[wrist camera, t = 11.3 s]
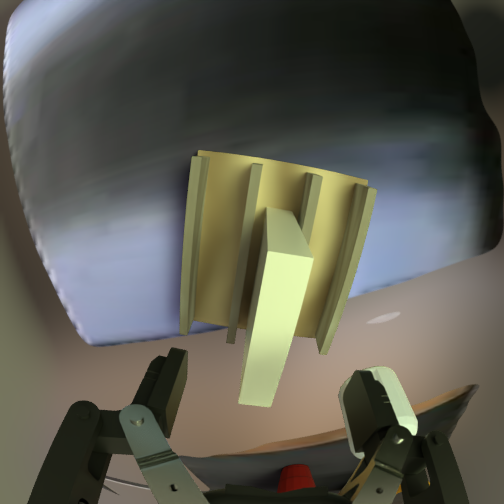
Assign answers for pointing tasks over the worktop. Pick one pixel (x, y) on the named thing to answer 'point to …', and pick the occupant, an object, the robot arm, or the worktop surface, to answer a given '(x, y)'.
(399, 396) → the soap bottle
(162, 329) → the worktop surface
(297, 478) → the plastic cup
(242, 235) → the dish rack
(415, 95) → the worktop surface
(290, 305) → the pale green flat slab
